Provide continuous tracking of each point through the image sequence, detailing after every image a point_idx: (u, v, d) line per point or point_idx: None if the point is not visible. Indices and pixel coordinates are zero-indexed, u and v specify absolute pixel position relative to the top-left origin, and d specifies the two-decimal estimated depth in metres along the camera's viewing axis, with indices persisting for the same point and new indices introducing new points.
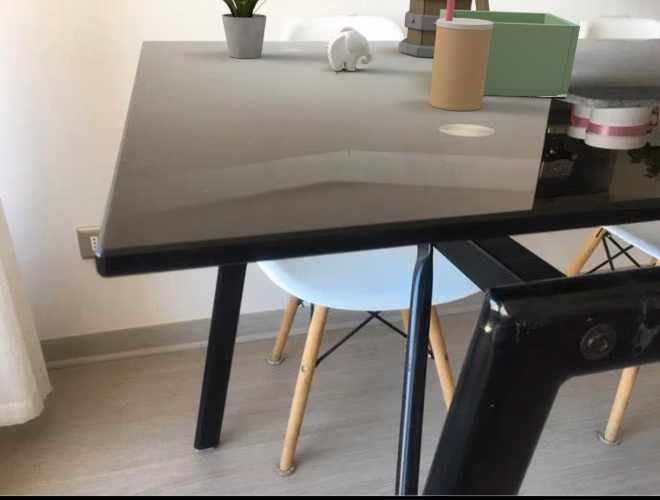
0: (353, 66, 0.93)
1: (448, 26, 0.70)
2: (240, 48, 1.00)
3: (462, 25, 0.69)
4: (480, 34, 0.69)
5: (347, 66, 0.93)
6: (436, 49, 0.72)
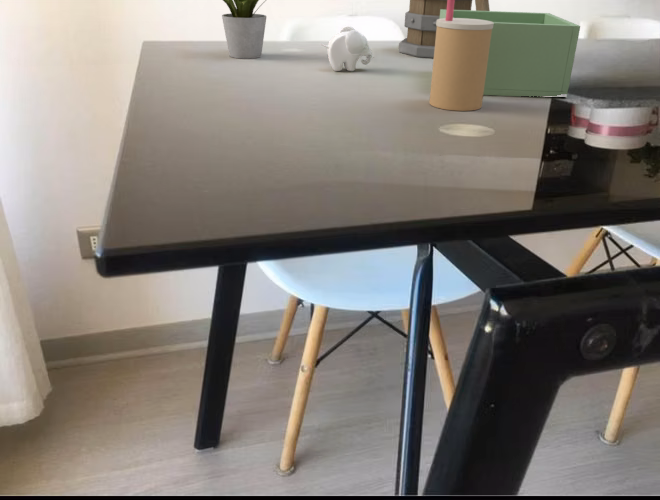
0: (353, 66, 0.93)
1: (448, 26, 0.70)
2: (240, 48, 1.00)
3: (462, 25, 0.69)
4: (480, 34, 0.69)
5: (347, 66, 0.93)
6: (436, 49, 0.72)
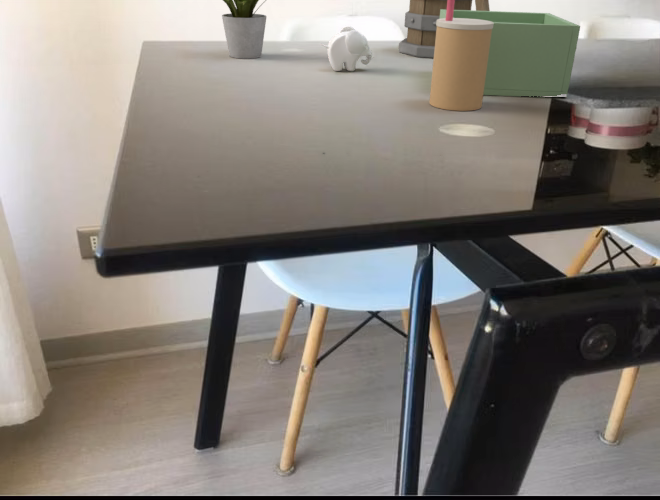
0: (353, 66, 0.93)
1: (448, 26, 0.70)
2: (240, 48, 1.00)
3: (462, 25, 0.69)
4: (480, 34, 0.69)
5: (347, 66, 0.93)
6: (436, 49, 0.72)
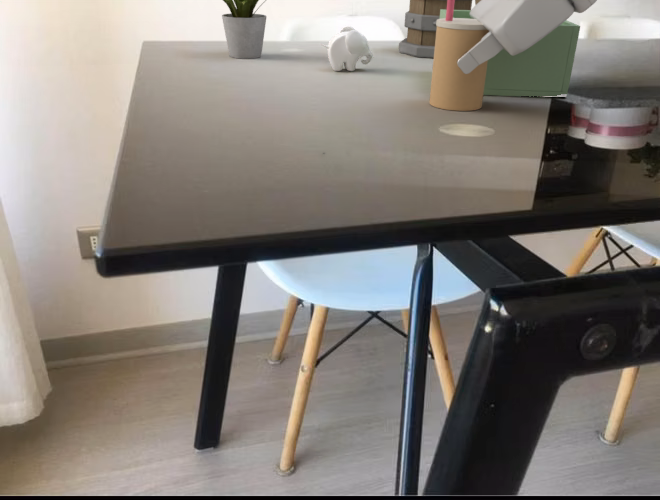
0: (353, 66, 0.93)
1: (448, 26, 0.70)
2: (240, 48, 1.00)
3: (462, 25, 0.69)
4: (480, 34, 0.69)
5: (347, 66, 0.93)
6: (436, 49, 0.72)
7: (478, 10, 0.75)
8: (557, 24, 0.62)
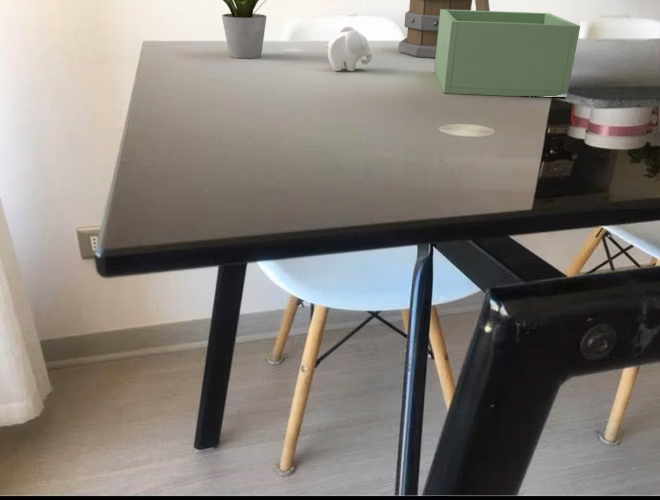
0: (353, 66, 0.93)
1: None
2: (240, 48, 1.00)
3: None
4: None
5: (347, 66, 0.93)
6: None
7: None
8: None
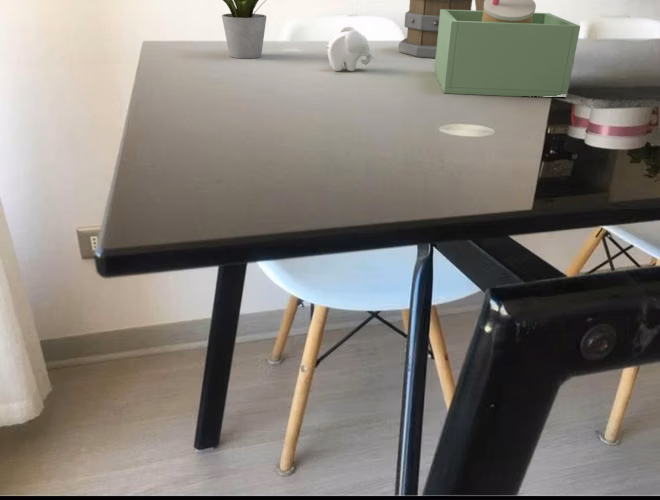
0: (353, 66, 0.93)
1: (494, 16, 0.78)
2: (240, 48, 1.00)
3: (507, 17, 0.78)
4: None
5: (347, 66, 0.93)
6: None
7: None
8: None
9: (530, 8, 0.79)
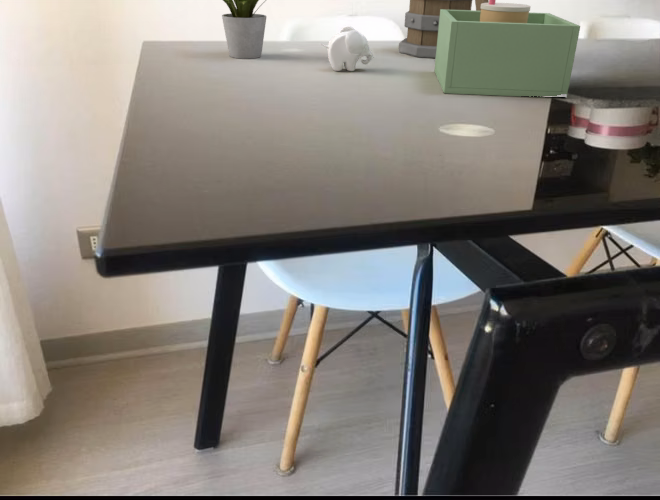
0: (353, 66, 0.93)
1: (492, 9, 0.81)
2: (240, 48, 1.00)
3: (504, 8, 0.81)
4: (519, 15, 0.81)
5: (347, 66, 0.93)
6: None
7: None
8: None
9: (525, 6, 0.82)
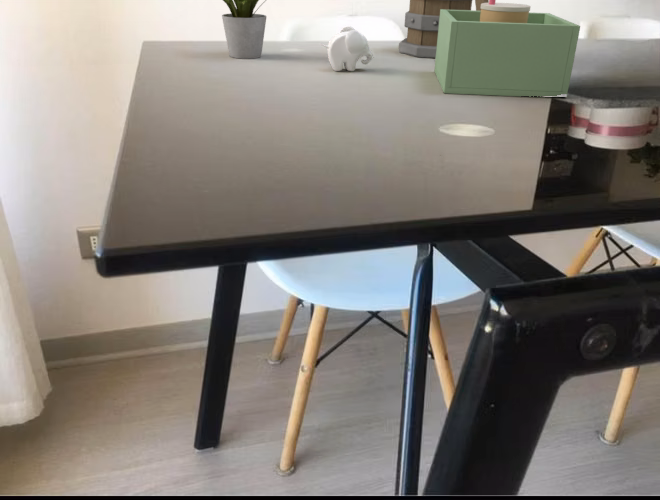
0: (353, 66, 0.93)
1: (492, 9, 0.81)
2: (240, 48, 1.00)
3: (504, 8, 0.81)
4: (519, 15, 0.81)
5: (347, 66, 0.93)
6: None
7: None
8: None
9: (525, 6, 0.82)
